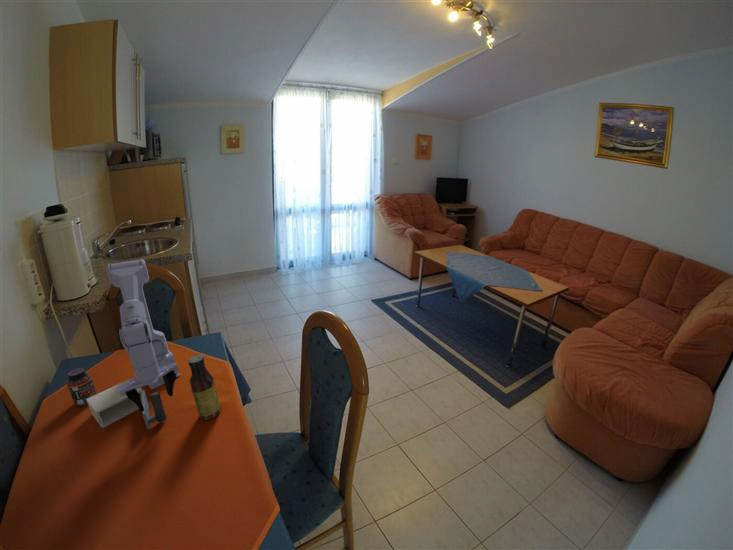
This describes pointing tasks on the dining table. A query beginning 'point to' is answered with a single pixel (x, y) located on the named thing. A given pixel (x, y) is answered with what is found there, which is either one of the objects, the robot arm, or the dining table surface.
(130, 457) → the dining table surface
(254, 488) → the dining table surface
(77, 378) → the supplement bottle
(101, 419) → the carton
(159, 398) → the dark grey door handle
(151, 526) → the dining table surface
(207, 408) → the sauce bottle
